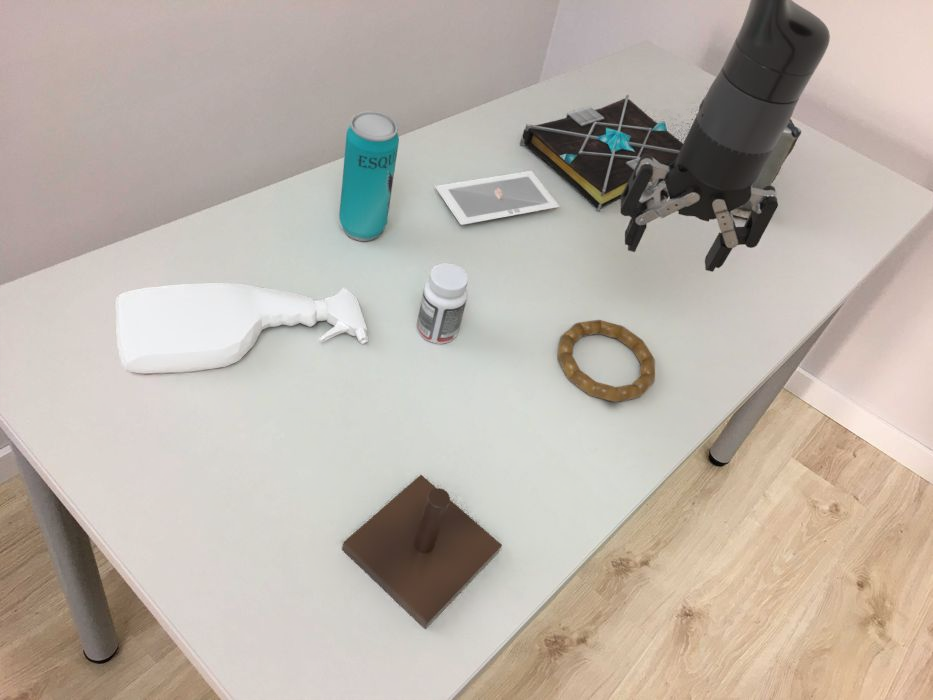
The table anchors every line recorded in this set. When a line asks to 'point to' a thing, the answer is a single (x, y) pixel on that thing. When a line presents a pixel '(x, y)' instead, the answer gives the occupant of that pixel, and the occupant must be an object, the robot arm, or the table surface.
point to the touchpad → (496, 197)
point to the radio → (772, 165)
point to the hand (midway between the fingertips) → (669, 256)
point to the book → (601, 147)
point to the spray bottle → (216, 323)
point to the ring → (595, 387)
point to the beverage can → (368, 174)
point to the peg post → (422, 550)
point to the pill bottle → (443, 303)
